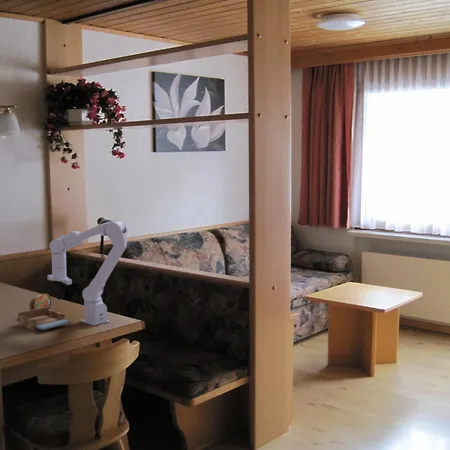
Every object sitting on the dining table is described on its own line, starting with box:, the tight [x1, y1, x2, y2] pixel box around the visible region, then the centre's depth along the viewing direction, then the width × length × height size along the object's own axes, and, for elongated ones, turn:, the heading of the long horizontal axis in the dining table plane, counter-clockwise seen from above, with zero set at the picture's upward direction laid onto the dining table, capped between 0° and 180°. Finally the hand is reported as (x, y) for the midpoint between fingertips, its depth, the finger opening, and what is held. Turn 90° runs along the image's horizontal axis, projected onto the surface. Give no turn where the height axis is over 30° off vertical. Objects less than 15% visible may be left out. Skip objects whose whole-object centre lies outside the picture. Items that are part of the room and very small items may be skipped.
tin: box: [29, 293, 52, 311], centre depth 270 cm, size 15×3×8 cm, turn 168°
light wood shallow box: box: [17, 307, 66, 332], centre depth 255 cm, size 12×14×5 cm
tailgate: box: [35, 318, 72, 331], centre depth 250 cm, size 1×13×5 cm
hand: (60, 298), depth 260 cm, fingers closed
